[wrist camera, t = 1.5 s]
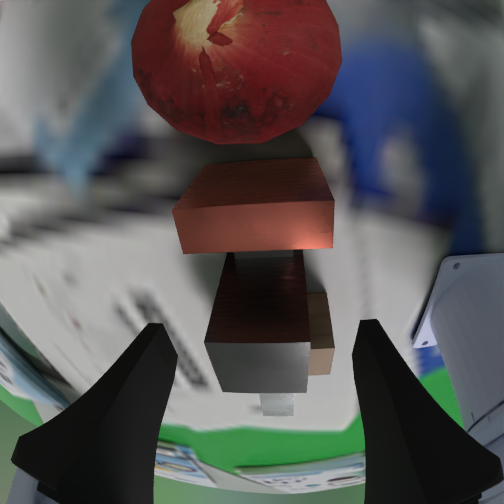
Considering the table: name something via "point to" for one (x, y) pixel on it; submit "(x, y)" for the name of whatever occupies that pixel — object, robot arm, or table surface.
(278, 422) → the table surface
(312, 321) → the tan rectangular collar
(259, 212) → the rod
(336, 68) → the onion
